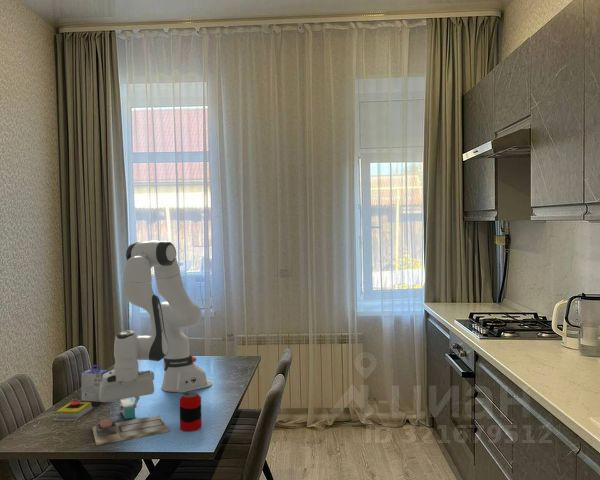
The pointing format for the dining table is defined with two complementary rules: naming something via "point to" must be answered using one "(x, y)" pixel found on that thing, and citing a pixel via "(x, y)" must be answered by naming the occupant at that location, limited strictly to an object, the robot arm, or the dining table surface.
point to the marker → (128, 408)
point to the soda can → (190, 411)
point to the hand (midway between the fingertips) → (127, 408)
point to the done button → (105, 423)
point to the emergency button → (73, 411)
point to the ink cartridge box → (92, 383)
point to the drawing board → (129, 429)
